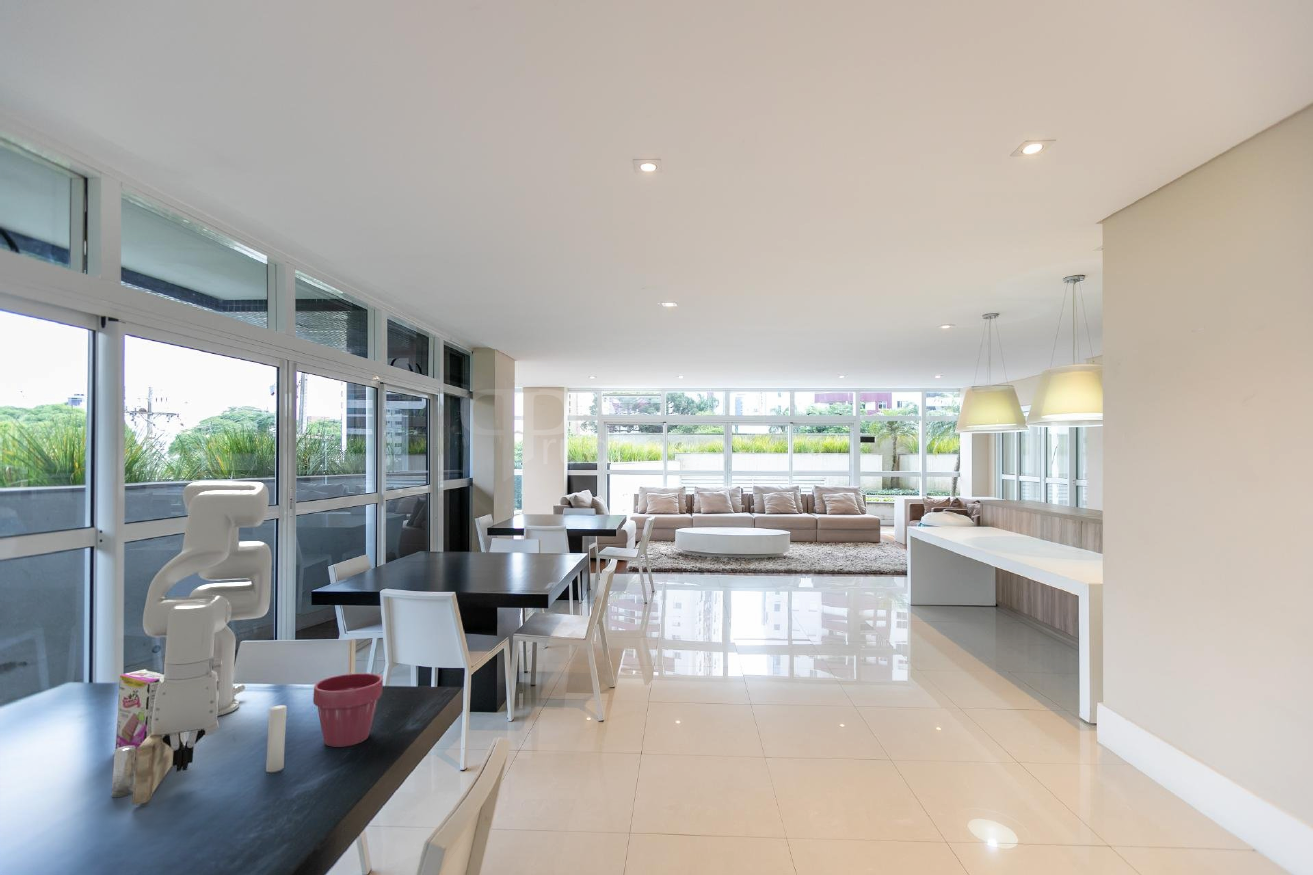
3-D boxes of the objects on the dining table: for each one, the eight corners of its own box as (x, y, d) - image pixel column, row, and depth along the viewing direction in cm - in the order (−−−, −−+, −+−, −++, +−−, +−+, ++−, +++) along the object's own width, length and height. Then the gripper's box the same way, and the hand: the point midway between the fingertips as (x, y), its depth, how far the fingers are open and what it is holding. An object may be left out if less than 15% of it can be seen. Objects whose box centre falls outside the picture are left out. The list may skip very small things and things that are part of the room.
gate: (162, 763, 129) (166, 715, 129) (176, 761, 129) (179, 713, 130) (132, 804, 112) (136, 749, 113) (148, 801, 113) (151, 747, 114)
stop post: (122, 788, 120) (125, 744, 120) (136, 789, 120) (139, 745, 120) (107, 796, 117) (110, 751, 117) (122, 797, 117) (125, 752, 117)
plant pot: (336, 725, 152) (338, 670, 153) (392, 728, 151) (394, 673, 152) (296, 750, 138) (299, 689, 139) (358, 753, 136) (360, 692, 137)
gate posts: (172, 758, 133) (175, 699, 134) (287, 765, 131) (290, 705, 131) (156, 765, 130) (161, 705, 130) (275, 773, 127) (278, 711, 128)
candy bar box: (112, 753, 135) (118, 674, 136) (139, 744, 140) (145, 668, 141) (142, 763, 130) (148, 681, 132) (169, 754, 135) (175, 675, 136)
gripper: (236, 659, 129) (230, 752, 128) (142, 669, 122) (135, 768, 120) (234, 668, 123) (228, 767, 122) (135, 680, 115) (128, 785, 114)
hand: (182, 767), depth 121 cm, fingers closed
